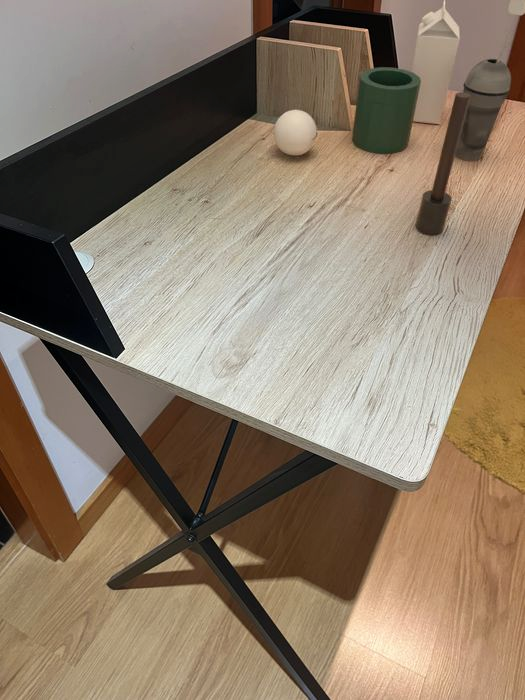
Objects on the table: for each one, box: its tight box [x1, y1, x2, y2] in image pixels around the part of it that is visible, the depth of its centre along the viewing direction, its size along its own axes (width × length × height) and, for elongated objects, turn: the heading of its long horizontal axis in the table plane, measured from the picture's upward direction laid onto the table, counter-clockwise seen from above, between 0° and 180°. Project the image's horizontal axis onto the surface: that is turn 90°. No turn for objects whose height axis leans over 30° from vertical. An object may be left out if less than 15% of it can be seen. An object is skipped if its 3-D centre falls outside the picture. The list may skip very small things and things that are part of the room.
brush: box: [415, 91, 471, 236], centre depth 77 cm, size 4×4×19 cm
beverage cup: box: [455, 29, 513, 162], centre depth 93 cm, size 7×7×20 cm
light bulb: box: [273, 109, 318, 157], centre depth 98 cm, size 10×7×7 cm
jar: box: [351, 66, 421, 155], centre depth 99 cm, size 10×10×11 cm
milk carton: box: [410, 0, 461, 125], centre depth 105 cm, size 7×7×19 cm
